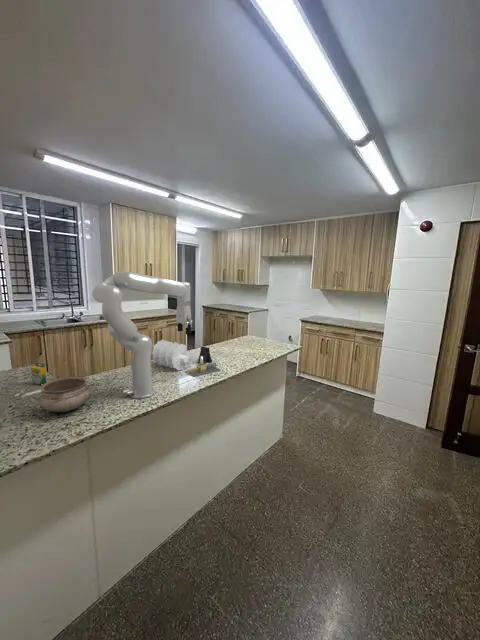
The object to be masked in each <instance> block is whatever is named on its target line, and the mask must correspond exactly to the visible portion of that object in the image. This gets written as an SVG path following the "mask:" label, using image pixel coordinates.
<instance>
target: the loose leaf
mask: <svg viewBox="0 0 480 640" xmlns="http://www.w3.org/2000/svg"><path fill="white" fill-rule="evenodd" d="M197 363H198V362H197ZM197 363H196V367H194V368H190V369H187V370H186V371H187V373H186V374H187V375H188V376H190V374H194V373H198V372H200V373H203V372H206V371H207V363H206V364H205V363H203V365H200V363H198V364H197Z"/></svg>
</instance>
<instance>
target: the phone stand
mask: <svg viewBox="0 0 480 640" xmlns="http://www.w3.org/2000/svg"><path fill="white" fill-rule="evenodd" d="M200 356H203V363H205V364H207V363H208V364H212V363H213V360H212V357H211V353H210V347H207V346H202V345H201V346H200V352H199V356H198V359H197V363H196V365H197V364H198V363H200Z"/></svg>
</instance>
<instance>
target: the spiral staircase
mask: <svg viewBox="0 0 480 640" xmlns="http://www.w3.org/2000/svg"><path fill="white" fill-rule="evenodd" d="M187 350H188V349H187V345H186V344H183V343H178V342H176V341H175V342H172V341H169V340H164V339H163V338H162V339H161V340H158V341H156V343H155V344H154V345H152V352H151V355H152V361H153V362H154V364H156V363H157V364H158V365H159V366H161V367H162V366H163V367H165V368H168V367H169V368H170V369H171V370H172V369H175V370H177V371H178V372H179V371H184V370H185V369H187V368H188V367H190V365H191V364H192V362H193V360H194V355H195V352H189V351H187Z"/></svg>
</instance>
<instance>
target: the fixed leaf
mask: <svg viewBox="0 0 480 640" xmlns="http://www.w3.org/2000/svg"><path fill="white" fill-rule="evenodd" d="M206 364H207V363H206ZM200 365H203V356H200ZM217 368H218V367H217V362H212V363H208V364H207V370H208V371H209V370H213V369H217Z"/></svg>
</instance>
